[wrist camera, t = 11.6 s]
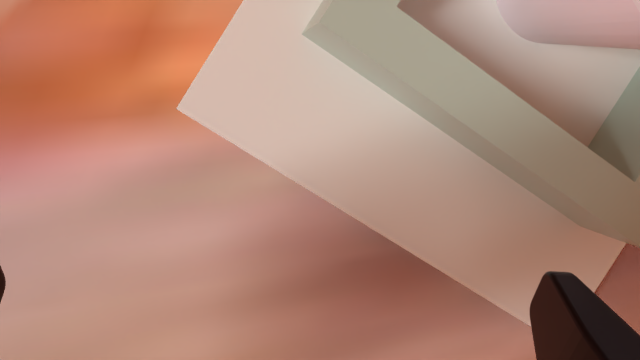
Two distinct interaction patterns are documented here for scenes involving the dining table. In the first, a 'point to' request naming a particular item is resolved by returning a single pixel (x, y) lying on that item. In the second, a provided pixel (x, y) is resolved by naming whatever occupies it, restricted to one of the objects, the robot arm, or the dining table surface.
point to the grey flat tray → (439, 132)
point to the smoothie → (575, 21)
